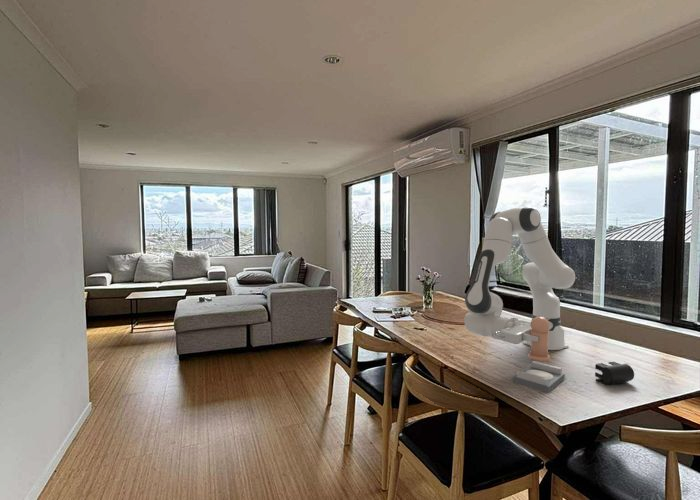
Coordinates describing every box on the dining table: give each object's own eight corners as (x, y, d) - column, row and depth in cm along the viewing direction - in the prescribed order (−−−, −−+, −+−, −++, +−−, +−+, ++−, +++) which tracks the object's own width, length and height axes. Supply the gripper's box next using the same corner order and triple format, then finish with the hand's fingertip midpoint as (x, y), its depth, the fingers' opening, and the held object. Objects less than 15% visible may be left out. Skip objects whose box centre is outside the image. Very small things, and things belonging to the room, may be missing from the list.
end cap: (611, 388, 128) (612, 369, 128) (593, 380, 135) (594, 362, 135) (634, 385, 131) (635, 366, 130) (615, 377, 137) (616, 359, 137)
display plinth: (530, 369, 145) (530, 359, 145) (564, 378, 136) (564, 368, 136) (513, 382, 134) (513, 371, 134) (548, 392, 125) (549, 381, 125)
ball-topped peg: (527, 354, 139) (528, 313, 138) (548, 356, 137) (549, 315, 136) (529, 360, 133) (531, 318, 131) (551, 362, 130) (553, 319, 129)
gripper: (492, 326, 136) (531, 334, 126) (515, 316, 150) (552, 323, 140) (491, 343, 137) (530, 352, 127) (515, 332, 151) (552, 339, 141)
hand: (542, 337), depth 134 cm, fingers closed on ball-topped peg, 6 cm apart
